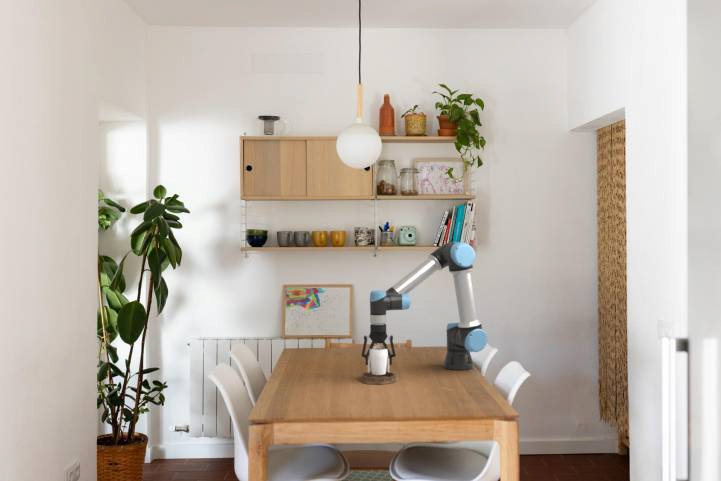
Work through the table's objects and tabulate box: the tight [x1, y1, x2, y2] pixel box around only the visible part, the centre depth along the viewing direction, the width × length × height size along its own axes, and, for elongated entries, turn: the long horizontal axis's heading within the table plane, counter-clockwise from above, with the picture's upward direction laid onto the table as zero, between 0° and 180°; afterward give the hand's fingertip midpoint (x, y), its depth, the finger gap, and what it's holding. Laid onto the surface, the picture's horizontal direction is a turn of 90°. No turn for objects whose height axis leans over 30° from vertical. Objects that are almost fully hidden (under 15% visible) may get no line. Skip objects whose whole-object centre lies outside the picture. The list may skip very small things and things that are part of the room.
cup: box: [368, 346, 389, 375], centre depth 313 cm, size 9×9×12 cm
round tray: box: [360, 371, 398, 386], centre depth 313 cm, size 17×17×3 cm
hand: (378, 371), depth 313 cm, fingers closed on cup, 9 cm apart
